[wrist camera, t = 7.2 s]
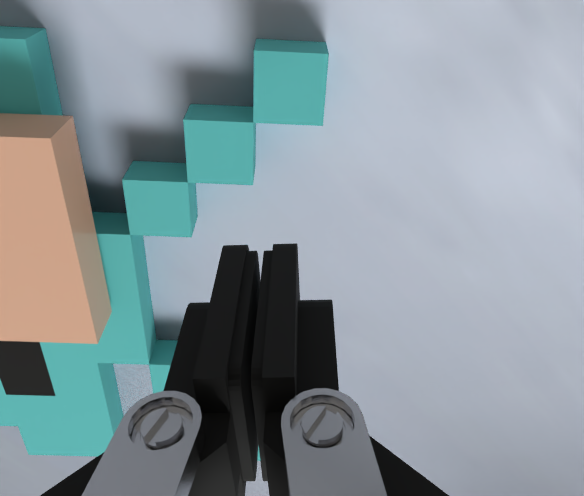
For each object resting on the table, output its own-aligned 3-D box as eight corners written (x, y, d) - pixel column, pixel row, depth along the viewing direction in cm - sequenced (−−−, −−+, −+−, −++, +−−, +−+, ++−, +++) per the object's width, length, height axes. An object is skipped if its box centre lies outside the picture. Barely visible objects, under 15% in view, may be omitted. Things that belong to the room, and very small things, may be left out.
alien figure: (324, 36, 18) (-297, 7, 17) (328, 53, 16) (-370, 20, 15) (294, 424, 29) (-82, 414, 28) (294, 461, 27) (-108, 451, 26)
